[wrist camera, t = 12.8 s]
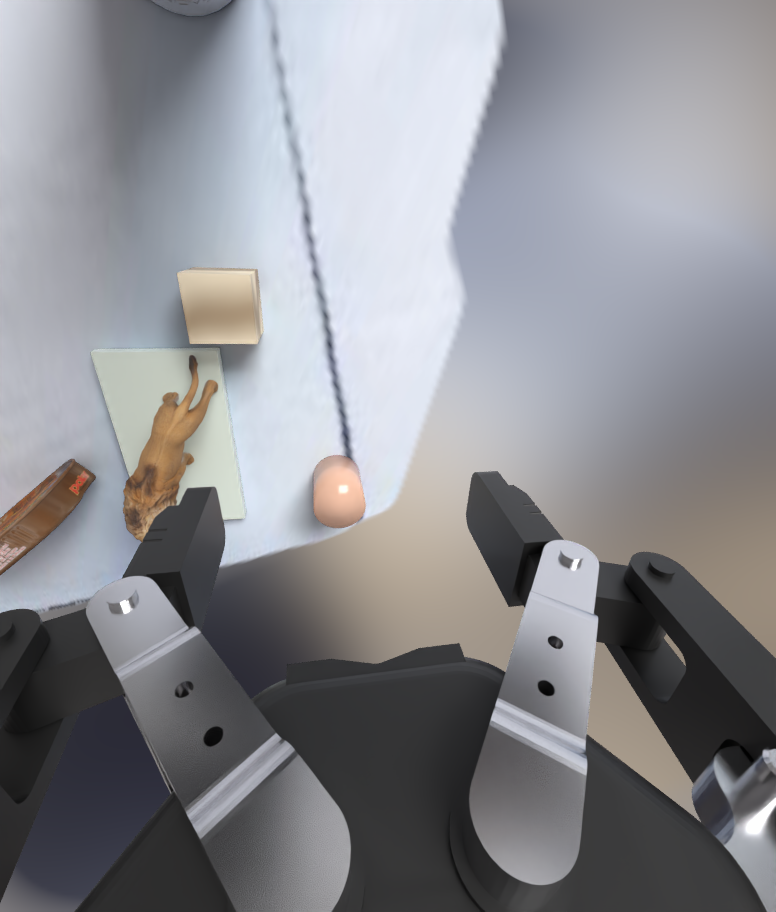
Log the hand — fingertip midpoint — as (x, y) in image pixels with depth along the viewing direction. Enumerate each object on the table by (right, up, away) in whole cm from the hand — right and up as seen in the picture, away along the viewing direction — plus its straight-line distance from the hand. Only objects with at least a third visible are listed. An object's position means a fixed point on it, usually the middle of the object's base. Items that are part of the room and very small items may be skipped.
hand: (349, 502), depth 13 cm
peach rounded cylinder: (-4, -1, +32) cm, 32 cm away
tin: (-33, -3, +28) cm, 43 cm away
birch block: (-12, +15, +22) cm, 29 cm away
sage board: (-19, +3, +27) cm, 33 cm away
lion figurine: (-18, +4, +26) cm, 32 cm away
